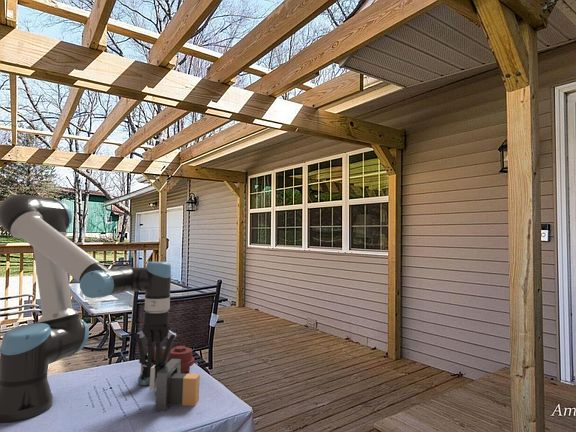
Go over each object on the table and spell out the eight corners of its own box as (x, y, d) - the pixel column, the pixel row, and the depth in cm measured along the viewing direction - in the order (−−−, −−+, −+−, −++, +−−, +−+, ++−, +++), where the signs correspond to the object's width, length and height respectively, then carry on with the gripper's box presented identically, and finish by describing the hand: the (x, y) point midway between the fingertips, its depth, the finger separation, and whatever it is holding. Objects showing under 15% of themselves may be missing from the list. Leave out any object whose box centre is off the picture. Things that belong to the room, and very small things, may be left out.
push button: (159, 381, 131) (160, 352, 132) (154, 386, 126) (156, 356, 126) (140, 380, 131) (141, 352, 131) (135, 386, 125) (136, 356, 126)
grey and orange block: (156, 404, 112) (157, 377, 113) (161, 398, 116) (162, 372, 117) (195, 405, 112) (196, 378, 113) (198, 400, 116) (199, 374, 117)
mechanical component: (198, 379, 133) (185, 390, 123) (173, 376, 135) (158, 387, 125) (199, 344, 134) (186, 352, 124) (174, 342, 136) (159, 350, 126)
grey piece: (155, 411, 108) (157, 372, 109) (170, 393, 121) (172, 358, 122) (165, 411, 108) (167, 373, 109) (179, 393, 121) (181, 359, 122)
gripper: (131, 312, 113) (127, 392, 111) (173, 313, 112) (169, 393, 111) (141, 308, 120) (138, 382, 119) (180, 309, 120) (177, 383, 118)
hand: (153, 387), depth 115 cm, fingers closed
